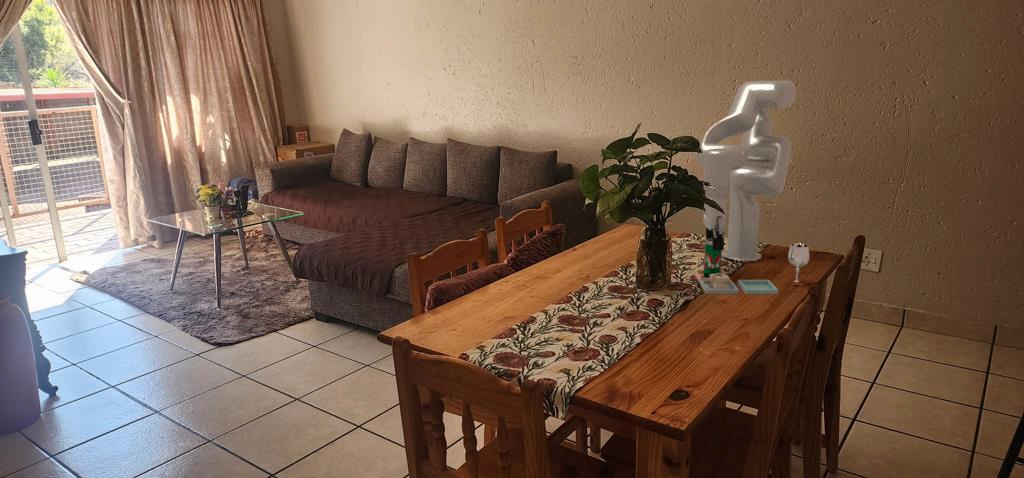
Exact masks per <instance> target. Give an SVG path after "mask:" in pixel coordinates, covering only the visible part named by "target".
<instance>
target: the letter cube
mask: <svg viewBox="0 0 1024 478" xmlns="http://www.w3.org/2000/svg"><path fill="white" fill-rule="evenodd" d="M727 275H728V274H727ZM727 275H725V274H723V273H717V274H710V281H709V287H710V288H711V289H729V278H730V277H729V275H728V276H727Z"/></svg>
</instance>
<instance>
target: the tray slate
mask: <svg viewBox="0 0 1024 478" xmlns="http://www.w3.org/2000/svg"><path fill="white" fill-rule="evenodd" d="M709 281H710V280H700V283H699V285H700V284H701V285H700V286H701V288H702V289H703V291H704V293H705V294H706V295H739V288H738V287H737V285H736V284H735V282H733V281H732V279H730V280H729V289H711V288H710V287H709V285H707V286H706V284H709Z"/></svg>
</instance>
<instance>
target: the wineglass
mask: <svg viewBox="0 0 1024 478" xmlns="http://www.w3.org/2000/svg"><path fill="white" fill-rule="evenodd" d="M787 259H788V262H789V263H790V264H791V265H792V266H794V267H796V268H795V280H793V281H794V282H799V279H798V278H799V277H798V275H799V272H800V267H803V266H805V265H807V264H808V263H809V261H810V248H809V245H808V244H806V243H799V242H797V243H791V244H790V247H789V249H788V254H787Z"/></svg>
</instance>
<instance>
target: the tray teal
mask: <svg viewBox="0 0 1024 478" xmlns="http://www.w3.org/2000/svg"><path fill="white" fill-rule="evenodd" d="M737 285H738V286H739V288H740V289H741V290H742V292H743V293H744V294H745V295H778V294H779V289H778V288H777V287H776V286H775V285H774V284H773V283H772V282H771V281H770V280H769V279H737Z"/></svg>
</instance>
